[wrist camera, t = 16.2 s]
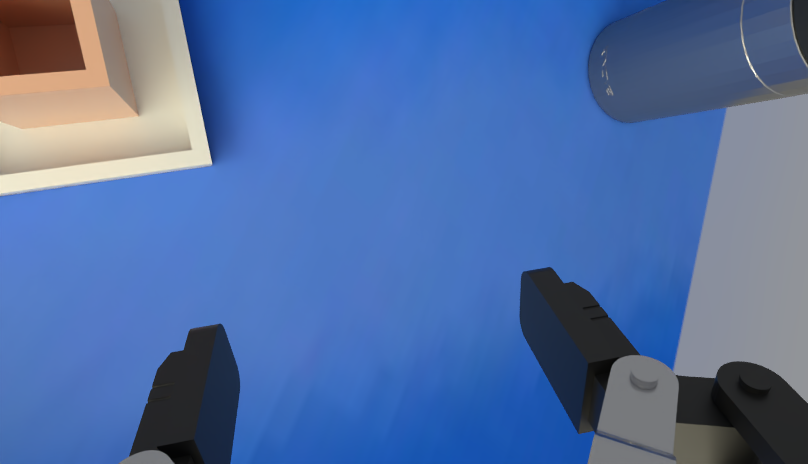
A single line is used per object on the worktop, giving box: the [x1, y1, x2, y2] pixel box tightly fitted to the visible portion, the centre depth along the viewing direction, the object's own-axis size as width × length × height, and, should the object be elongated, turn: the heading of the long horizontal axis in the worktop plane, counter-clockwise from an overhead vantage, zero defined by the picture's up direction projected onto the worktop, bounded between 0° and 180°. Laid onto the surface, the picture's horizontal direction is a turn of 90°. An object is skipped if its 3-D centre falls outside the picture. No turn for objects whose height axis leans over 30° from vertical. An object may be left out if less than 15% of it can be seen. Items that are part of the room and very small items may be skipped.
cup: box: [0, 0, 139, 129], centre depth 27 cm, size 6×6×10 cm
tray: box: [0, 0, 212, 196], centre depth 31 cm, size 14×14×3 cm
